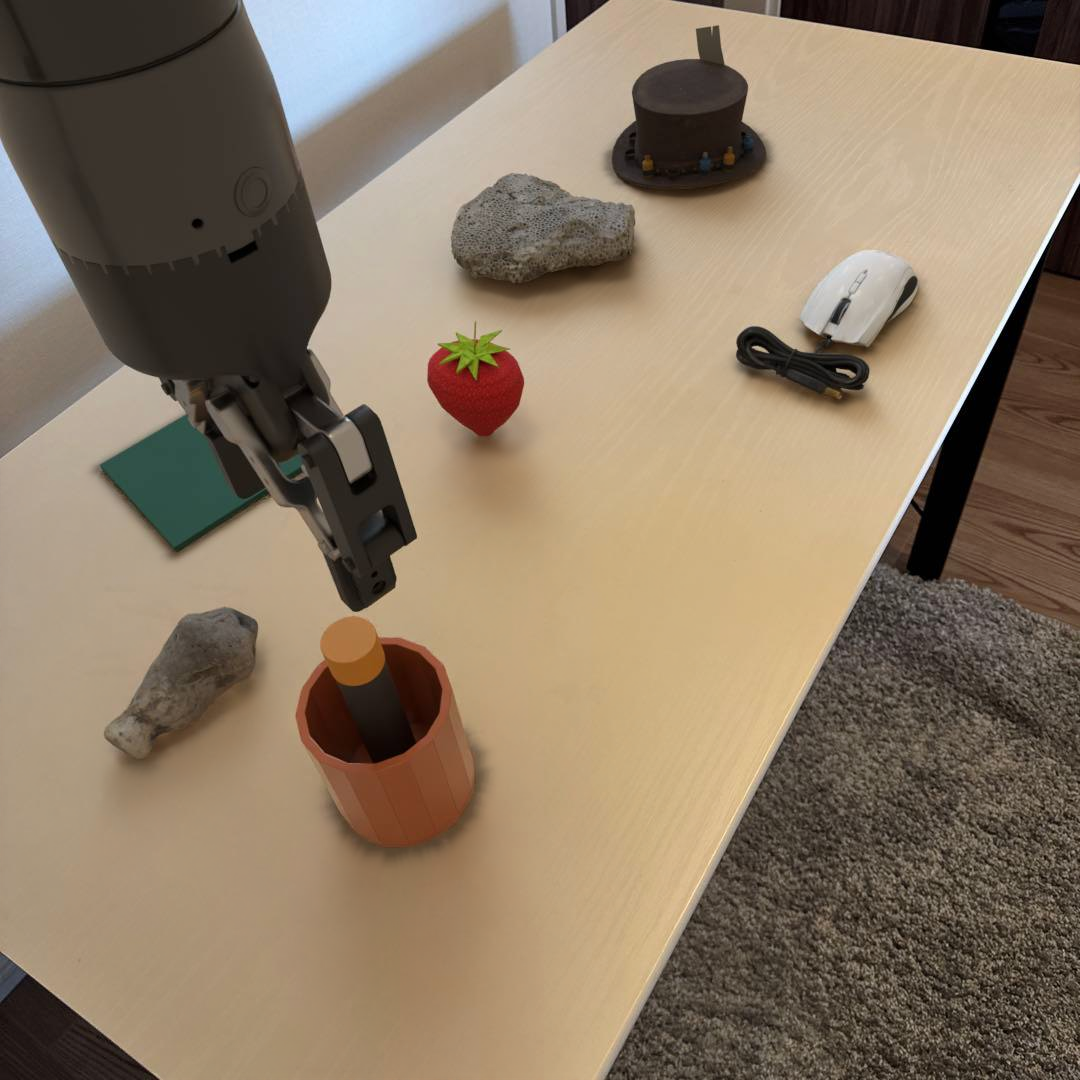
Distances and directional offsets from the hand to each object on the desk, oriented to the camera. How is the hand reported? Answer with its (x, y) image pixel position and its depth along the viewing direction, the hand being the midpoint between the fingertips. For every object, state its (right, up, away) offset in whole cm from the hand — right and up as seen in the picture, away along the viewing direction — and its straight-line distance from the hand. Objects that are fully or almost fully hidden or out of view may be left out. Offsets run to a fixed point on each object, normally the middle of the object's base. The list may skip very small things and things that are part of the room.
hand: (312, 537), depth 42 cm
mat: (-16, +6, +36) cm, 39 cm away
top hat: (+24, +38, +58) cm, 73 cm away
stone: (-12, -10, +22) cm, 27 cm away
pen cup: (+2, -14, +17) cm, 22 cm away
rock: (+10, +26, +50) cm, 57 cm away
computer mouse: (+34, +17, +40) cm, 55 cm away
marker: (+2, -14, +17) cm, 22 cm away
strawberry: (+5, +8, +36) cm, 37 cm away
